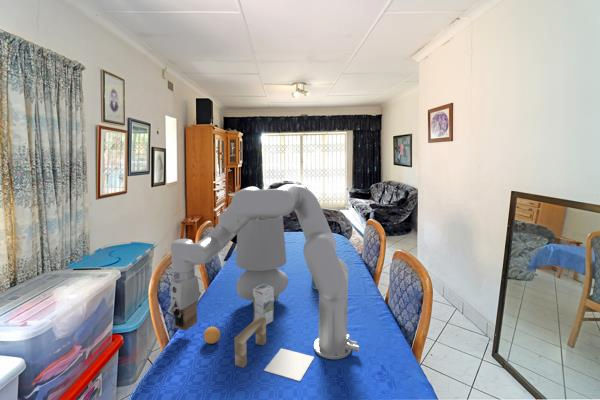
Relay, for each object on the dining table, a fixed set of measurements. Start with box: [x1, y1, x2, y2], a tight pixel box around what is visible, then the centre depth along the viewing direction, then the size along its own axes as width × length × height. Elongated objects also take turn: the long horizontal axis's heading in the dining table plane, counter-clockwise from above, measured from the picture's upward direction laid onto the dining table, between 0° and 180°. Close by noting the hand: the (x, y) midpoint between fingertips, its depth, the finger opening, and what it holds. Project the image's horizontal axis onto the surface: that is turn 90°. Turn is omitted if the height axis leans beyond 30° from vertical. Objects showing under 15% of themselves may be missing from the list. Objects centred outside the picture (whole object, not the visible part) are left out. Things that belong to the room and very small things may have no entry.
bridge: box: [233, 316, 267, 368], centre depth 107 cm, size 3×14×9 cm, turn 157°
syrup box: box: [252, 284, 275, 326], centre depth 126 cm, size 6×6×14 cm
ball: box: [203, 326, 221, 345], centre depth 113 cm, size 6×6×6 cm
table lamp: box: [235, 216, 289, 303], centre depth 140 cm, size 23×22×40 cm
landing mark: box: [263, 347, 315, 382], centre depth 102 cm, size 12×12×1 cm
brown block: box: [173, 302, 198, 332], centre depth 117 cm, size 5×6×8 cm
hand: (186, 320), depth 117 cm, fingers closed on brown block, 6 cm apart
